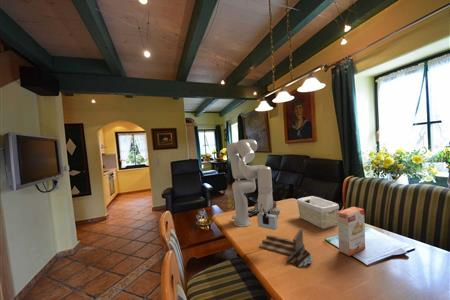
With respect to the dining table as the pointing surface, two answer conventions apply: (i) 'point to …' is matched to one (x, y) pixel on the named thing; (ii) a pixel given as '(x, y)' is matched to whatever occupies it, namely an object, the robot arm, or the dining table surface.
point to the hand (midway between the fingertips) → (267, 222)
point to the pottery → (274, 210)
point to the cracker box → (351, 230)
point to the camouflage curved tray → (300, 257)
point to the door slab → (272, 222)
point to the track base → (283, 243)
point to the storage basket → (318, 211)
